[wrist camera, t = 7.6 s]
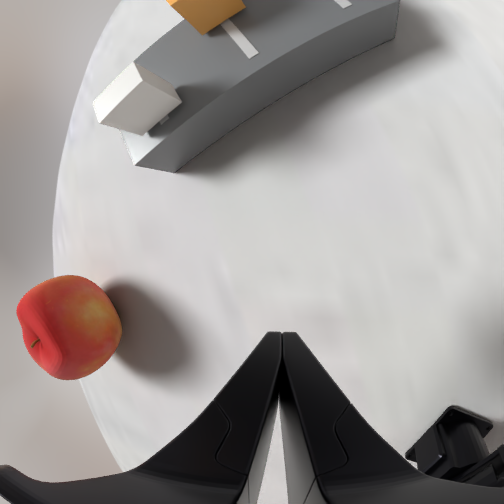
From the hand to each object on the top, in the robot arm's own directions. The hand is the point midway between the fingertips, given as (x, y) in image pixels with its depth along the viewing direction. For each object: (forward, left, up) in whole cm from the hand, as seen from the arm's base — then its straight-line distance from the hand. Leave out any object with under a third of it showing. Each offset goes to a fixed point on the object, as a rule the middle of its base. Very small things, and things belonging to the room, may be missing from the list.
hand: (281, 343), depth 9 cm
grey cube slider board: (+11, -13, -13) cm, 21 cm away
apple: (+16, +14, -13) cm, 25 cm away
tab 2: (+12, -14, -7) cm, 20 cm away
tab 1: (+13, -6, -7) cm, 16 cm away
